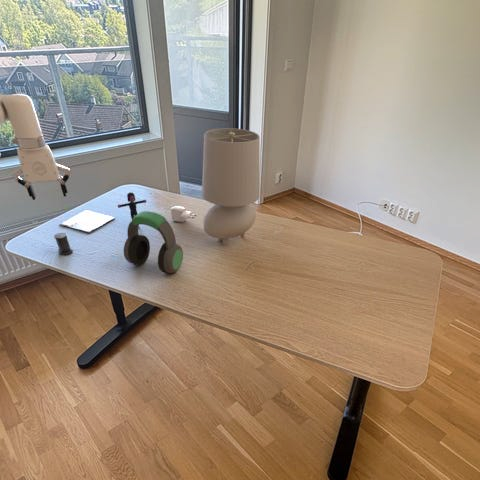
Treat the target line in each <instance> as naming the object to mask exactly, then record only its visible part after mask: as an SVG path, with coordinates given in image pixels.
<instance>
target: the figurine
mask: <svg viewBox="0 0 480 480" xmlns="http://www.w3.org/2000/svg"><path fill="white" fill-rule="evenodd" d="M126 199H127V203H122V204H117V208H119V209H120V208H124V207H129V210H130V211H129V212H130V218H131V219H132V218H133V217H134V216H136V215H137V214H138V210H137V205H140V204H146V203H147V199H143V200H137V201H136V196H135V193H134V192H131V191H130V192H127V195H126ZM140 229H141V228H140V224H139V225H138V230H140Z"/></svg>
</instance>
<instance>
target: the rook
mask: <svg viewBox="0 0 480 480" xmlns="http://www.w3.org/2000/svg"><path fill="white" fill-rule="evenodd" d="M53 238H54V239H55V243H56V244H57V247H58V250H57V252H58V254H59V256H63V257H64V256H69V255H71V254H73V252H74V251H73V248H72V247H71V245H70V243H69V239H68V235H67V233H66V232H57V233H55V234H54V236H53Z"/></svg>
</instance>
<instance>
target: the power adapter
mask: <svg viewBox="0 0 480 480" xmlns="http://www.w3.org/2000/svg"><path fill="white" fill-rule="evenodd" d="M170 215H171V221H173V222H178V223H184V222H186V220H189V218H190V219H195V217H197V216H198V214H195V213H193V212H192V211H188V210H187V209H186V207H183V206H178V205H174V206H172V207H171V209H170Z"/></svg>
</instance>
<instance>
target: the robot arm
mask: <svg viewBox="0 0 480 480" xmlns="http://www.w3.org/2000/svg"><path fill="white" fill-rule="evenodd" d="M6 122H9V123H10V125H11V128H12V131H13V134H14V138H11V144H12V145H16V146H18V147H17V148H16V151H17V152H16V153H17V158H18V161H19V165H20V167H19V168H18V169H16V170H15V171H13V172H12V173H11V177H12V178H13V179H14V180H15V181H16V182H17V183H18V184H20V185H21V186H23V187H24V188H25V189H26V190H27V193H28V197H31V199H32V200H33V201H35V200H36V193H35V191H34V188H33V185H32V184H34V183H45V182H46V183H47V182H53V181H57V182H58V183H60V184H59V185H60V189H61V192H62V195H63V197H67V194H68V188H67V185H66V183H67V182H68V180H69V179H70V175H71V169H70V168H69V167H66V166H64V165H62V164H58V163H57V162H56V159H55V156H54V154H53V152H52V150H51V147H50V146H49V145H48V144H47V143H46V140H45V137H44V134H43V131H42V127H41V125H40V121H39V119H38V115H37V111H36V109H35V105H34V103H33V100H32V99H31V97H30V96H29V95H27V94H23V93H13V94H2V93H0V125H2V124H4V123H6ZM60 171H61V172H64V175H63V176H62V175H60ZM22 174H23V177H24V179H25V180H24V179H23V178H21V177H20V175H22Z"/></svg>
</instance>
